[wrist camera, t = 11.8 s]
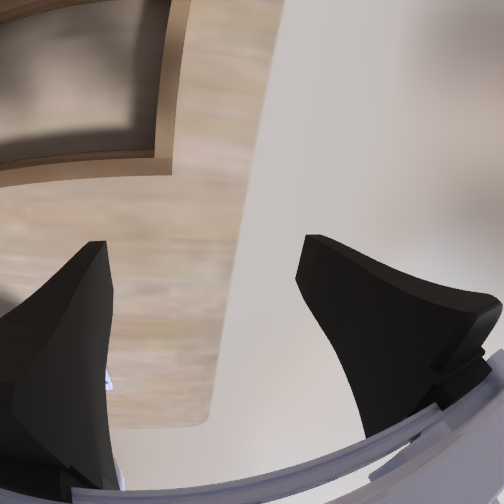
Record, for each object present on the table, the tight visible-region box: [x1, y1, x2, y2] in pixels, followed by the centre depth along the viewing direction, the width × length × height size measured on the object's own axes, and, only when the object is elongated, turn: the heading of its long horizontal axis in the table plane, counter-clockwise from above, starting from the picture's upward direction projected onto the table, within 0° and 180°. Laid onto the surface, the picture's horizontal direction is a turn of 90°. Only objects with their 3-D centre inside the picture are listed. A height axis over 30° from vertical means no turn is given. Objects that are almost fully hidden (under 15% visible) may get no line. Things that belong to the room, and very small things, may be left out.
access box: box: [0, 0, 191, 187], centre depth 11 cm, size 12×16×2 cm
